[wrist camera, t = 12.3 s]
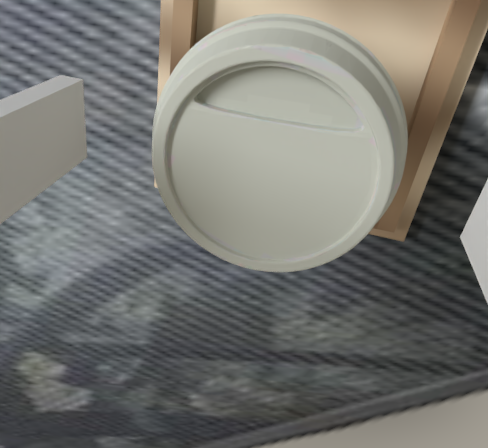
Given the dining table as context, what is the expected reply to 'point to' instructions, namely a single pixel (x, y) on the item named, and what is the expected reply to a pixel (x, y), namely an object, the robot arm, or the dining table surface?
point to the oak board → (385, 50)
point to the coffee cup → (278, 142)
